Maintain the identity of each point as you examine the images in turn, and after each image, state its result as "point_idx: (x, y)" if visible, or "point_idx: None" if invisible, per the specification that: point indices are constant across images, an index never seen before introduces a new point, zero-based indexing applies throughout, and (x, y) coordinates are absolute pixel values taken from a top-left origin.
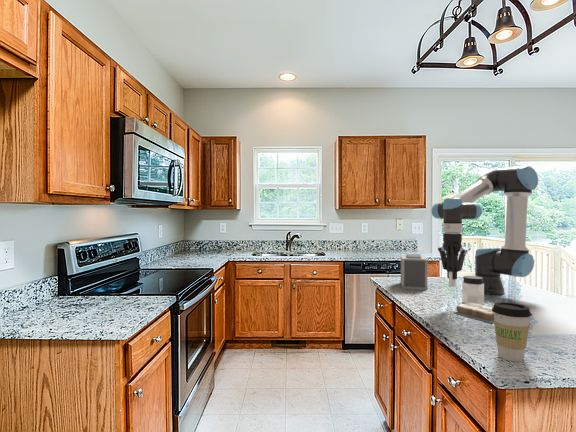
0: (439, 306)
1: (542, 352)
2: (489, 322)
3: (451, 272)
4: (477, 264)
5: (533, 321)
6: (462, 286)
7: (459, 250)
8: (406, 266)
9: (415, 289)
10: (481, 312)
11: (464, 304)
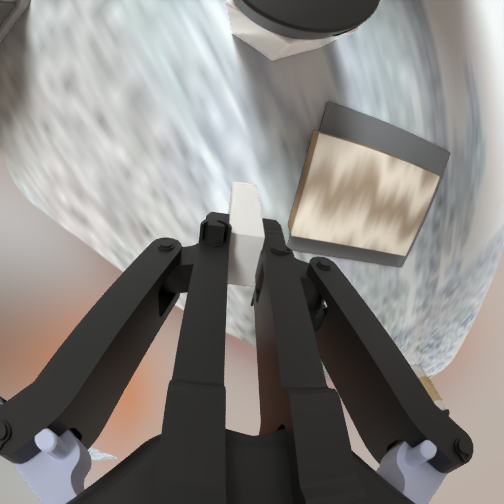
0: (199, 195)
1: (448, 335)
2: (395, 265)
3: (249, 284)
4: None
5: (479, 163)
6: (230, 14)
7: (376, 485)
8: None
9: (1, 40)
10: (381, 250)
11: (311, 199)
